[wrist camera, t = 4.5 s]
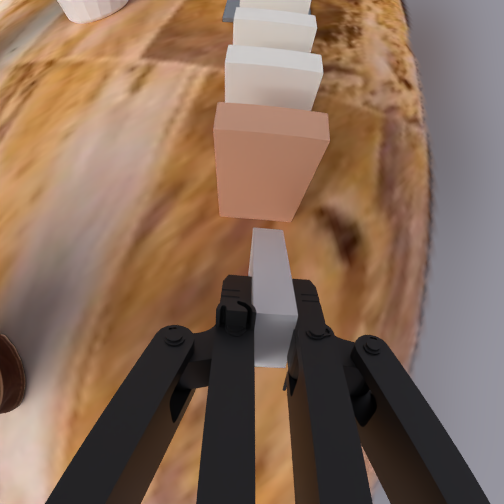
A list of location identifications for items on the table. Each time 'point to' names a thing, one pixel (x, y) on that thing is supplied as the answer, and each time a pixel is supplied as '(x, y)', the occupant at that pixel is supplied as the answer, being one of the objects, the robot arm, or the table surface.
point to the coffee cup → (10, 376)
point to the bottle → (90, 9)
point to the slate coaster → (230, 9)
